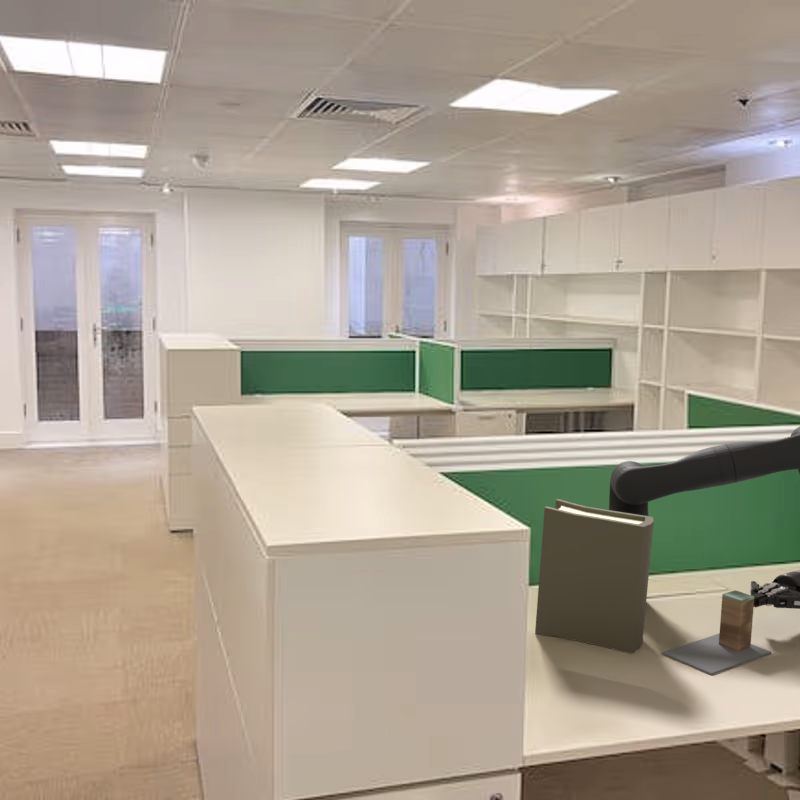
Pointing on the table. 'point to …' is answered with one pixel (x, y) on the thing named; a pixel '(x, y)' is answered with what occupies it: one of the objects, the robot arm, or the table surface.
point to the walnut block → (736, 620)
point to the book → (594, 575)
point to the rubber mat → (713, 655)
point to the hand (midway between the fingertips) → (752, 601)
